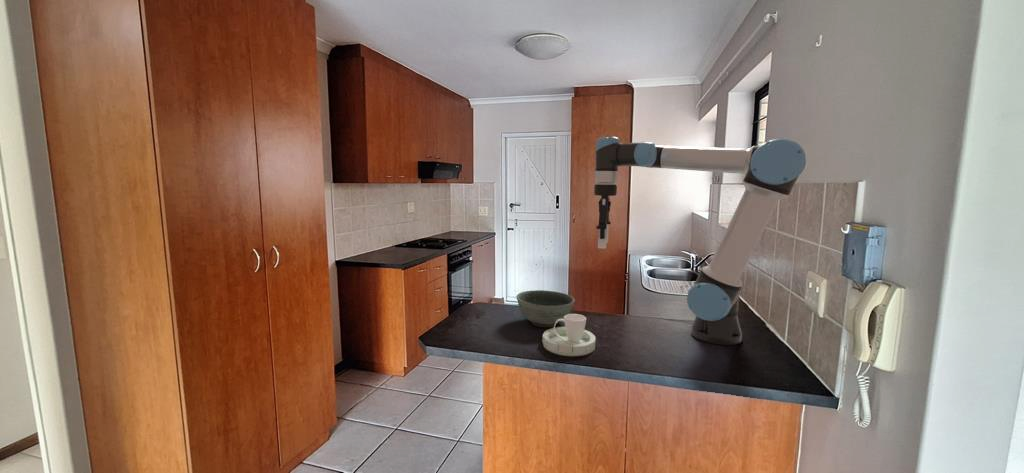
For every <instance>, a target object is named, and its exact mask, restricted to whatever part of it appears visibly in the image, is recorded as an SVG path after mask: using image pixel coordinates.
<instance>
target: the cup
mask: <svg viewBox="0 0 1024 473" xmlns="http://www.w3.org/2000/svg"><path fill="white" fill-rule="evenodd" d="M558 321H561V322H563V323H564V327H565V331H566V335H567V338H568V340H565V339H563V338H562V337H561V336H559V335H558V334H557V333H556V331H555V327H556V326H557V325H556V323H557V322H558ZM558 323H559V322H558ZM558 323H557V324H558ZM586 323H587V317H586V316H584V315H583V314H578V313H569V314H567V315H565V316H564V319H558V320H557V321H556V322H555V325H554V326H553V328H554V332H555V334H556V335H557V336H558V337H559V338H560V339H562V340H563V341H565V342H568V343H569V344H573V345H576V344H580V343H581V339H582V337H583V334H584V330H586V329H585V328H586Z"/></svg>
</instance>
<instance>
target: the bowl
mask: <svg viewBox="0 0 1024 473" xmlns="http://www.w3.org/2000/svg"><path fill="white" fill-rule="evenodd" d="M515 297H516V301H517V303H518V308H519V310H520V312H521V314H522V315H523V317H524V318H525V319H527V320H528V321H530V323H531V324H532V325H533V326H537V327H540V328H554V325H555V322H556V321H557V320H558V319H564V316H565V315H567V314H571V311H572V308H573V306H574V303H575V301H576V300H575V298H574V297H573V296H571V295H570V294H567V293H564V292H559V291H553V290H544V289H543V290H541V289H539V290H526V291H522V292H521V291H520V292H519V293H517V294H516V296H515ZM560 322H562V321H558V322H557V323H556V325H555V326H557V325H558V323H560Z"/></svg>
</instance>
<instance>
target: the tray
mask: <svg viewBox="0 0 1024 473" xmlns="http://www.w3.org/2000/svg"><path fill="white" fill-rule="evenodd" d="M555 331H556V333H557V334H558V335H559V336H561V337H562V338H563V339H565V340H568V338H567V335H566V331H565V326H555ZM596 337H597V336H595V334H593V333H592V332H591V331H589V330H587V329H584V334H583V337H582V339H581V343H580V344H576V345H573V344H569V343H568V342H565V341H563V340H562V339H560V338H559V337H558V336H557V335H556V334H555V332H554V327H550V328H549V329H547V330H545V331H544V332H543V334H542V345H543V348H544V349H545V350H547V351H548V352H550V353H551V354H552V353H553V354H555V355H559V356H562V357H563V356H564V357H581V356H587V355H589V354H591V353H593V352H594V351H595V349H596Z"/></svg>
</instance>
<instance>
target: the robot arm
mask: <svg viewBox="0 0 1024 473" xmlns="http://www.w3.org/2000/svg"><path fill="white" fill-rule="evenodd" d="M595 146H596V147H595V165H594V166H595V169H594V171H595V172H594V173H593V174H592V177H594V183H595V184H594V191H593V195H594V196H599V197H601V198H600V199H599V200H598V214H599V216H598V225H596V226H595V228H596V229H597V230H598V233H597V249H603V250H605V249H607V244H608V243H609V228H610V226H609V225H611V221H610V212H611V206H612V201H611V197H612V196H617V192H618V185H617V183H618V177H619V174H618V173H619V171H618V170H619V168H618V167H639V168H640V167H642V168H643V167H644V168H650V169H656V168H657V169H669V170H686V171H697V172H698V171H699V172H711V173H712V172H713V173H727V174H739V175H740V174H741V175H745V176H744V179H743V180H742V184H743V186H744V189H745V190H744V192H743V195H742V196H741V198H740V200H739V203H738V205H737V206H736V209H735V211H734V213H733V215H732V217H731V220H730V222H729V223H728V226H727V228H726V229H725V232H724V234H723V237H722V238H721V240H720V243H719V245H718V247H717V249H716V251H715V253H714V255H713V257H712V259H711V261H710V264H708V265H706V266H702V268H701V270H700V272H699V274H698V276H697V278H696V280H695V281H694V284H693V285H692V286H691V287H690V288H689V289H688V292H687V296H686V303H687V305H688V308H689V310H690V311H691V313H693V315H695V317H694V320H693V322H692V324H691V327H690V334H691V335H692V337H694V338H696V339H697V340H699V341H703V342H705V343H709V344H714V345H720V346H721V345H722V346H735V345H739V344H740V343H741V342H742V338H743V333H742V329H741V325H740V321H739V318H738V316H739V315H738V312H739V306H740V305H739V303H740V302H739V301H740V292H741V289H742V288H743V281H742V274H743V273H744V272H743V271H744V270H745V268H746V266H747V264H748V262H749V260H750V259H751V257H752V254H753V253H754V250H755V249H756V247H757V245H758V243H759V241H760V239H761V237H762V235H763V233H764V230H765V229H766V227H767V224H768V223H769V221H770V219H771V217H772V215H773V213H774V211H775V209H776V208H777V205H778V203H779V202H780V201H781V200H782V199H785V198H788V197H789V196H790V194H791V192H792V190H793V188H794V186H795V185H796V183H797V180H798V179H799V176H800V175H801V174H802V173H803V171H804V169H805V166H806V162H807V161H806V159H807V158H806V153H805V151H804V149H803V147H801V145H800V144H799V143H798V142H796V141H793V140H791V139H787V138H775V139H770V140H768V141H766V142H764V143H762V144H761V145H753V146H751V147H750V148H730V147H728V148H727V147H704V146H703V147H702V146H701V147H700V146H676V145H656V144H655V143H654V142H651V141H650V142H648V141H640V142H638V141H637V142H626V143H625V142H624V143H623V142H620V139H619V138H618V137H616V136H610V137H609V136H603V137H599V138H598V139H597V140H596V145H595Z"/></svg>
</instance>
